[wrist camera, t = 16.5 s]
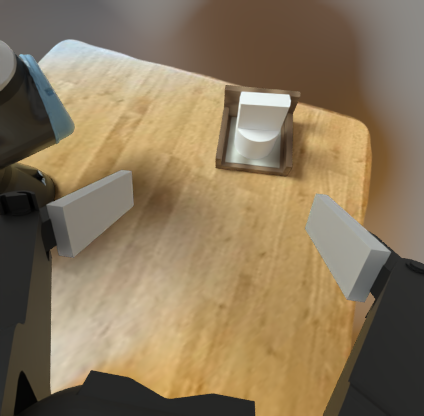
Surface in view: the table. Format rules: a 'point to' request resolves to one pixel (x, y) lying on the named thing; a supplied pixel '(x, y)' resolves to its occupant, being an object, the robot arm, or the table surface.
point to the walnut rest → (226, 151)
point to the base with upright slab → (259, 122)
